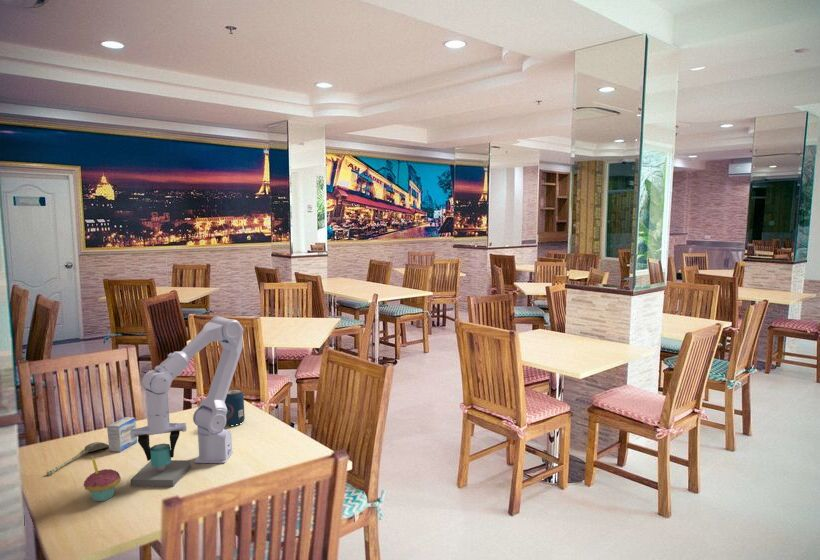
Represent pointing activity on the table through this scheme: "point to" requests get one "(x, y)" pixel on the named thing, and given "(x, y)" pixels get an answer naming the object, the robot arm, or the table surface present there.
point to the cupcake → (102, 483)
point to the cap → (160, 455)
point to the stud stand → (161, 474)
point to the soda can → (234, 407)
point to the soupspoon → (87, 449)
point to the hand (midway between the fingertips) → (160, 457)
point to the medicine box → (121, 434)
